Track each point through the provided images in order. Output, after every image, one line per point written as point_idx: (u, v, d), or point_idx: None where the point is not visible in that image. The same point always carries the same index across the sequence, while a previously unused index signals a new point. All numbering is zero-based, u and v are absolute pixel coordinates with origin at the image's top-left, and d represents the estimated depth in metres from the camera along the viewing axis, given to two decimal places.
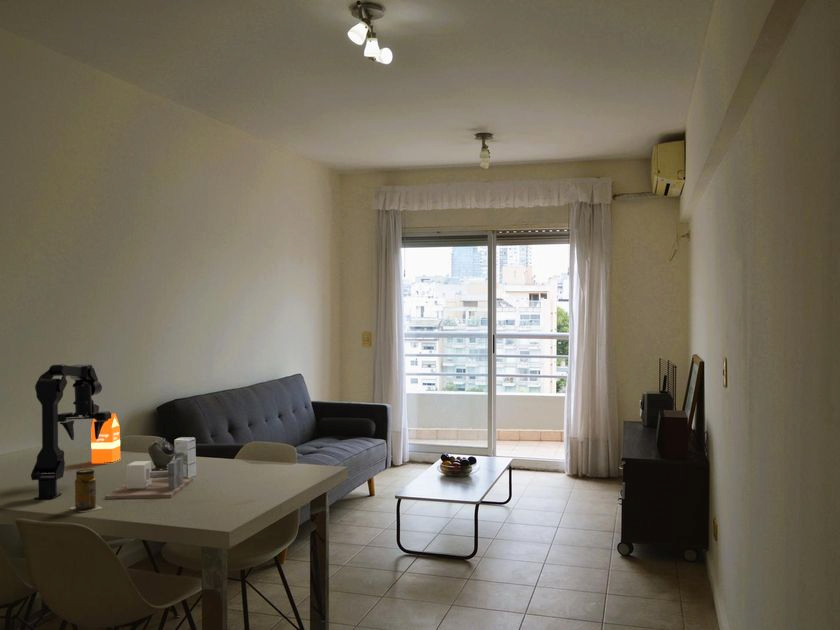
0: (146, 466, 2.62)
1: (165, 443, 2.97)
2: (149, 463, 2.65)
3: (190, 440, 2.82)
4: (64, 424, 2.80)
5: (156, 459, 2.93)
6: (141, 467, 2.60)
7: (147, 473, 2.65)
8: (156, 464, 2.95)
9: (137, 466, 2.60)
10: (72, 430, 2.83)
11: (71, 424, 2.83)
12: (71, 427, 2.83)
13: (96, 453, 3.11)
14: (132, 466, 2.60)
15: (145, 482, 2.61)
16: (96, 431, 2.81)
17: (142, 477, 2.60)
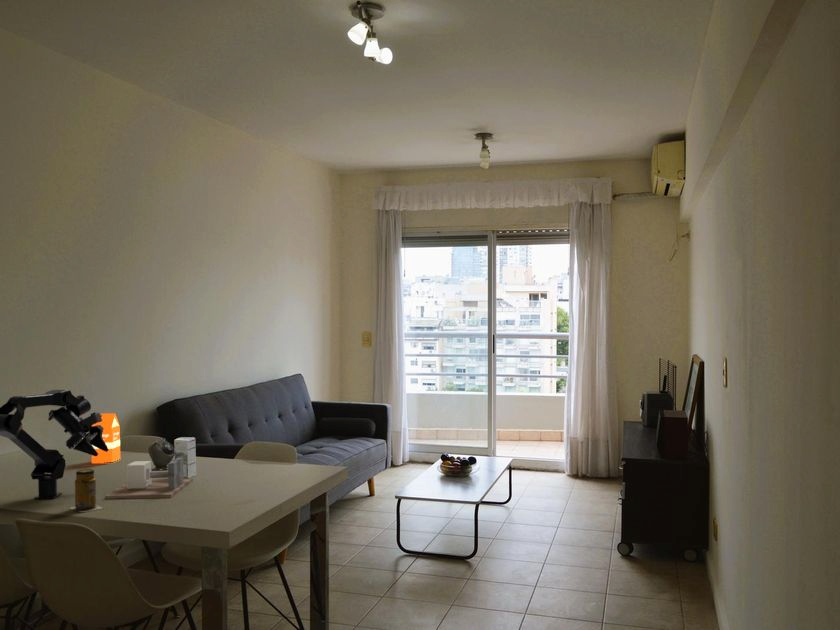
0: (146, 466, 2.62)
1: (165, 443, 2.97)
2: (149, 463, 2.65)
3: (190, 440, 2.82)
4: None
5: (156, 459, 2.93)
6: (141, 467, 2.60)
7: (147, 473, 2.65)
8: (156, 464, 2.95)
9: (137, 466, 2.60)
10: (101, 443, 2.68)
11: (97, 438, 2.68)
12: (98, 441, 2.68)
13: None
14: (132, 466, 2.60)
15: (145, 482, 2.61)
16: None
17: (142, 477, 2.60)
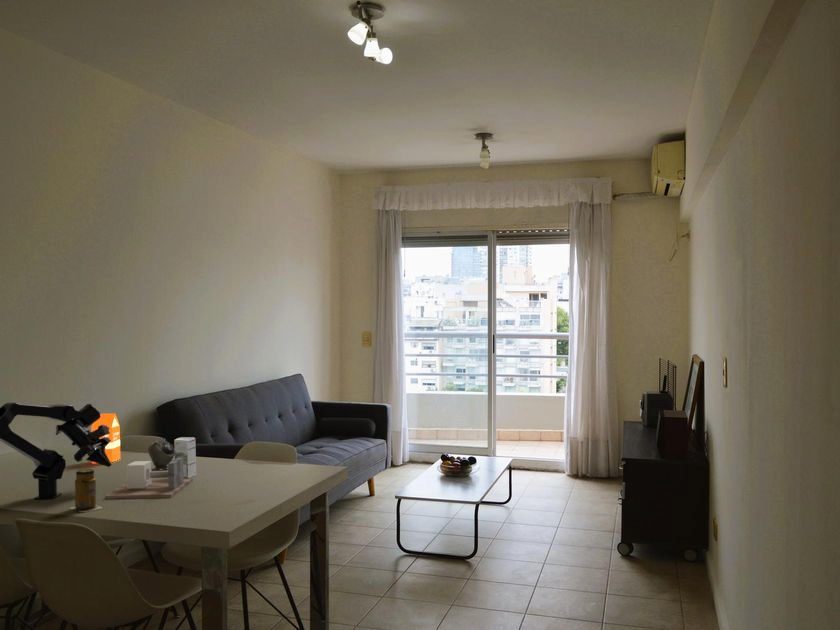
0: (146, 466, 2.62)
1: (165, 443, 2.97)
2: (149, 463, 2.65)
3: (190, 440, 2.82)
4: None
5: (156, 459, 2.93)
6: (141, 467, 2.60)
7: (147, 473, 2.65)
8: (156, 464, 2.95)
9: (137, 466, 2.60)
10: None
11: None
12: None
13: None
14: (132, 466, 2.60)
15: (145, 482, 2.61)
16: None
17: (142, 477, 2.60)
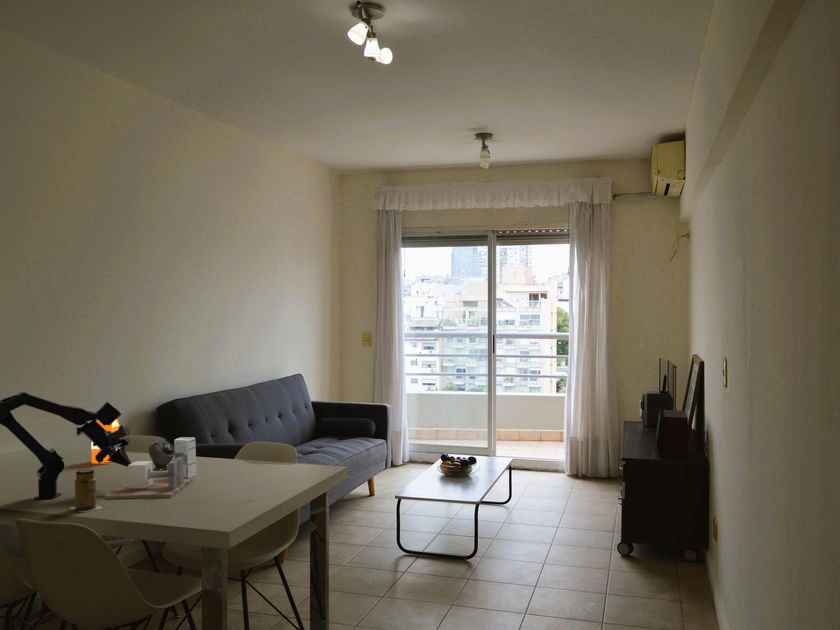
0: (147, 466, 2.62)
1: (165, 443, 2.97)
2: (150, 463, 2.65)
3: (190, 440, 2.82)
4: None
5: (156, 459, 2.93)
6: (142, 467, 2.60)
7: (148, 473, 2.65)
8: (156, 464, 2.95)
9: (138, 466, 2.60)
10: None
11: None
12: None
13: (96, 453, 3.11)
14: (133, 466, 2.60)
15: (146, 482, 2.61)
16: None
17: (143, 477, 2.60)
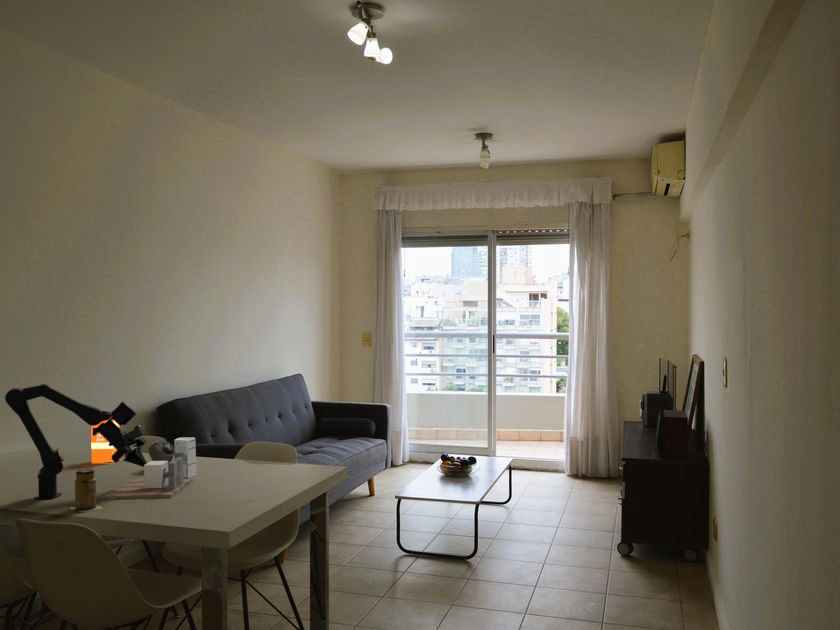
0: (163, 466, 2.62)
1: (165, 443, 2.97)
2: (166, 463, 2.65)
3: (190, 440, 2.82)
4: None
5: (156, 459, 2.93)
6: (158, 467, 2.60)
7: None
8: None
9: (154, 466, 2.60)
10: None
11: None
12: None
13: (96, 453, 3.11)
14: (149, 466, 2.60)
15: (162, 482, 2.61)
16: None
17: (159, 477, 2.60)
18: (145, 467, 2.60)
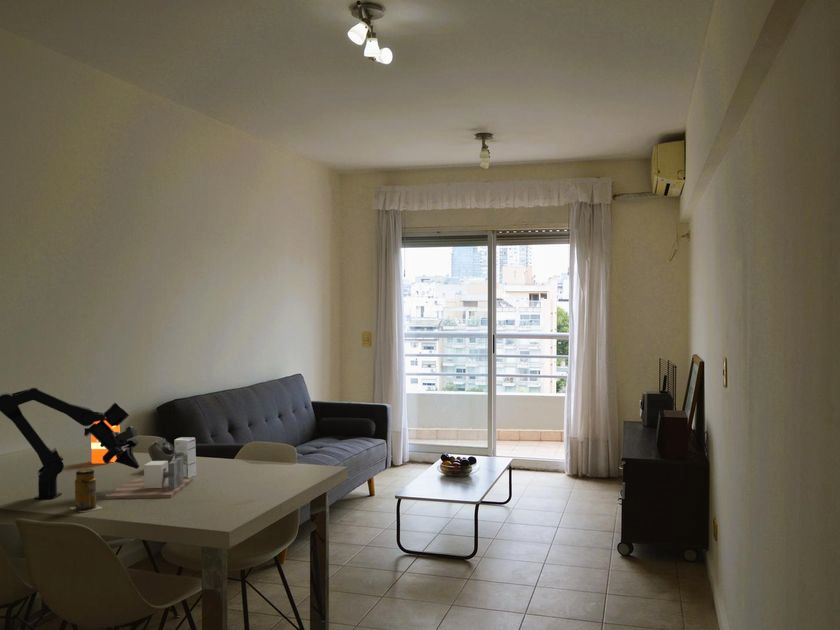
0: (163, 466, 2.62)
1: (165, 443, 2.97)
2: (166, 463, 2.65)
3: (190, 440, 2.82)
4: None
5: (156, 459, 2.93)
6: (158, 467, 2.60)
7: None
8: None
9: (154, 466, 2.60)
10: None
11: None
12: None
13: (96, 453, 3.11)
14: (149, 466, 2.60)
15: (162, 482, 2.61)
16: None
17: (159, 477, 2.60)
18: (145, 467, 2.60)
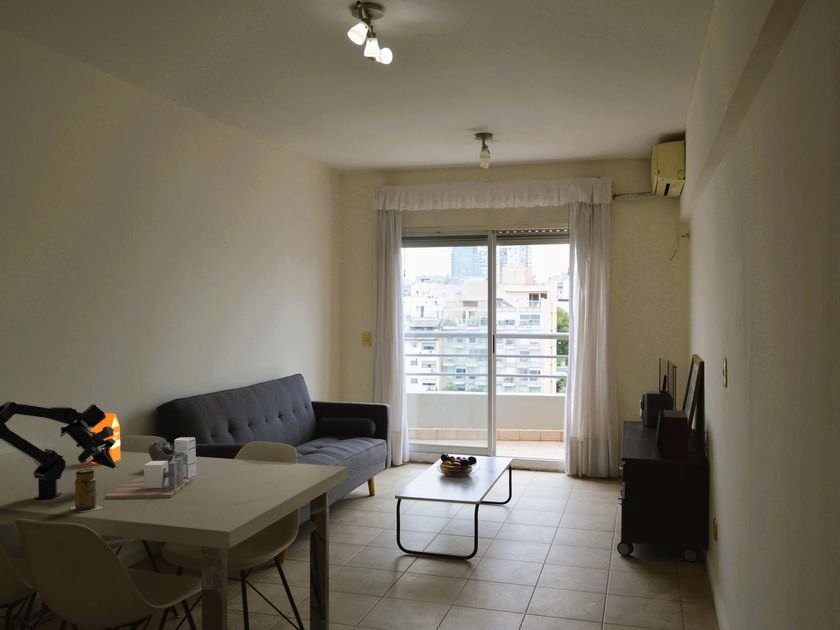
0: (163, 466, 2.62)
1: (165, 443, 2.97)
2: (166, 463, 2.65)
3: (190, 440, 2.82)
4: None
5: (156, 459, 2.93)
6: (158, 467, 2.60)
7: None
8: None
9: (154, 466, 2.60)
10: None
11: None
12: None
13: None
14: (149, 466, 2.60)
15: (162, 482, 2.61)
16: None
17: (159, 477, 2.60)
18: (145, 467, 2.60)
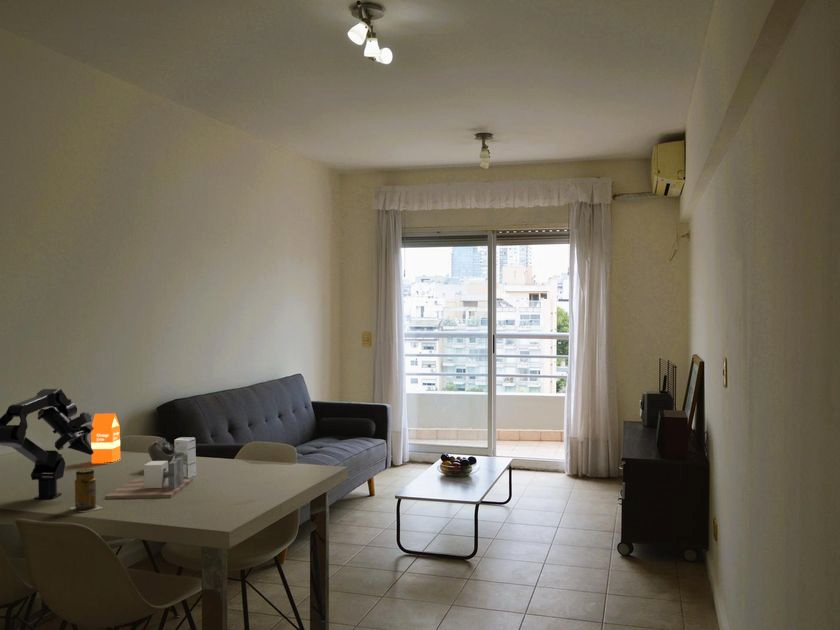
0: (163, 466, 2.62)
1: (165, 443, 2.97)
2: (166, 463, 2.65)
3: (190, 440, 2.82)
4: None
5: (156, 459, 2.93)
6: (158, 467, 2.60)
7: None
8: None
9: (154, 466, 2.60)
10: None
11: None
12: None
13: (96, 453, 3.11)
14: (149, 466, 2.60)
15: (162, 482, 2.61)
16: None
17: (159, 477, 2.60)
18: (145, 467, 2.60)
